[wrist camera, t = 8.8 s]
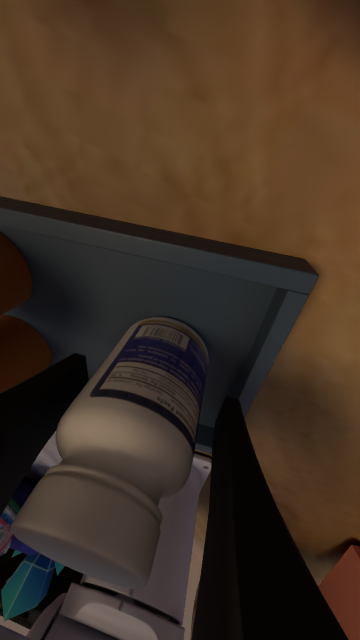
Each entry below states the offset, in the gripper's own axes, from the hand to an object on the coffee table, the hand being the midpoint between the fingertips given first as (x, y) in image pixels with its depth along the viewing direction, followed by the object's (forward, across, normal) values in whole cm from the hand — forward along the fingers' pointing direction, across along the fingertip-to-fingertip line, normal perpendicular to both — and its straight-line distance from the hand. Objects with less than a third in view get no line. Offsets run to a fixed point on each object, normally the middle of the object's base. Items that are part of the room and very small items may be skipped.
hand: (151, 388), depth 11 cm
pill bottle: (+3, 0, 0) cm, 3 cm away
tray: (+3, +5, 0) cm, 6 cm away
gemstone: (+3, +14, +46) cm, 48 cm away
